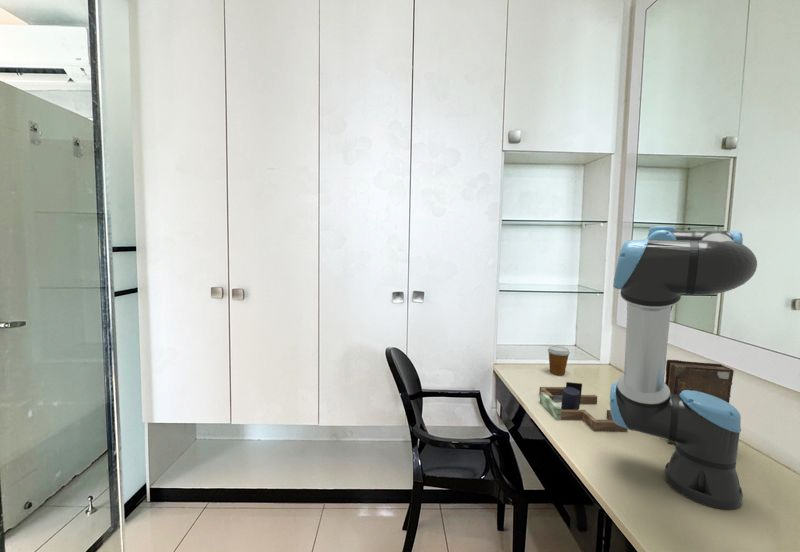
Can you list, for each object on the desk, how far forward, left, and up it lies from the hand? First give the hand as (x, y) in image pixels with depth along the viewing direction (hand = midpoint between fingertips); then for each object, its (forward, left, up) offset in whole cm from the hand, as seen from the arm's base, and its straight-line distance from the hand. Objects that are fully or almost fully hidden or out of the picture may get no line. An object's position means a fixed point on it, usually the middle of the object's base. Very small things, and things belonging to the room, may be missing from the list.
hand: (652, 342), depth 124 cm
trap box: (+8, +19, -28) cm, 35 cm away
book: (-13, -6, -28) cm, 32 cm away
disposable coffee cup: (+46, +9, -28) cm, 55 cm away
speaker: (+7, +22, -28) cm, 37 cm away
